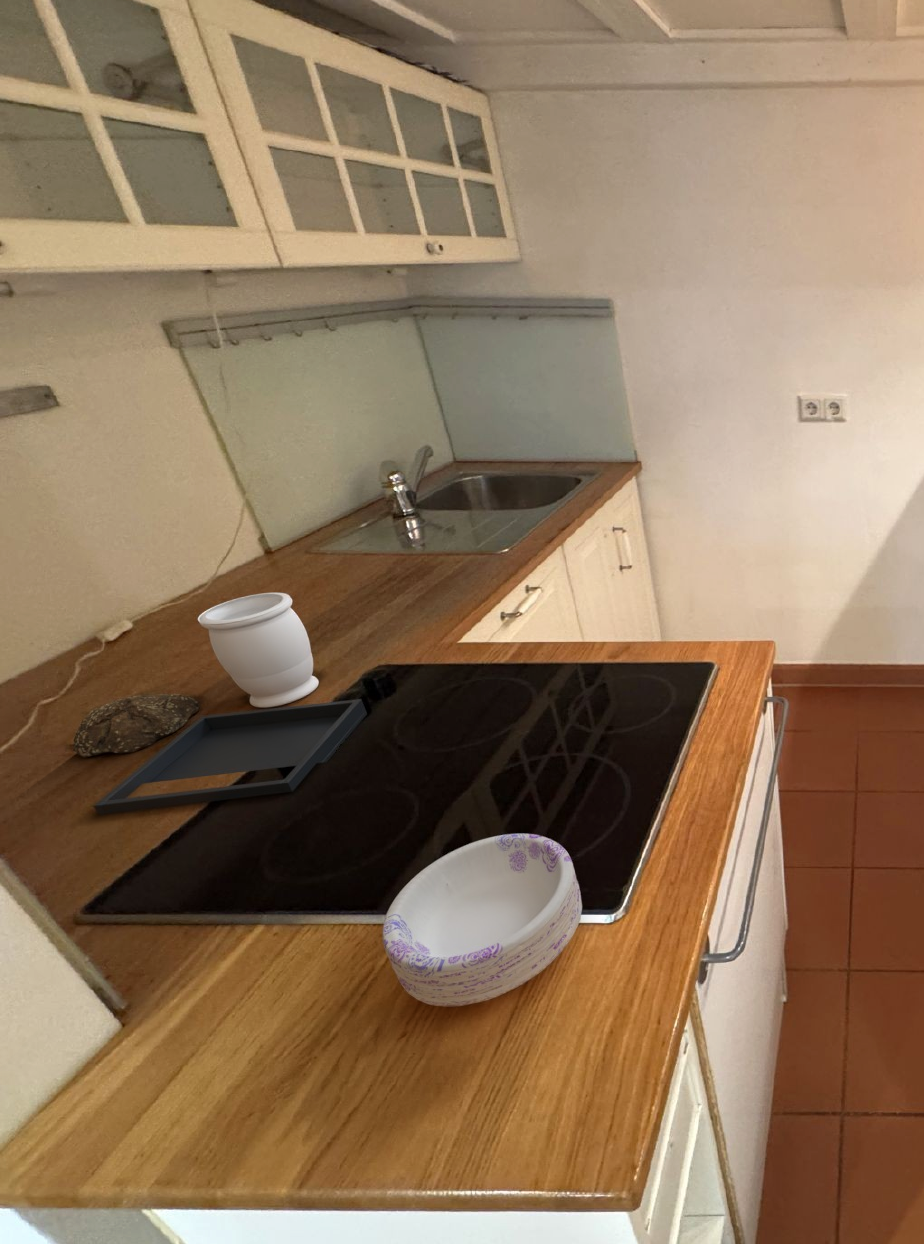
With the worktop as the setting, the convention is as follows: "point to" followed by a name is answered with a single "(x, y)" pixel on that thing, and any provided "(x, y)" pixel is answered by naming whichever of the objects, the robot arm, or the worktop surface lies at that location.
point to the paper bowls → (483, 919)
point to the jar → (262, 647)
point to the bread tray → (240, 753)
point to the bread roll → (132, 723)
